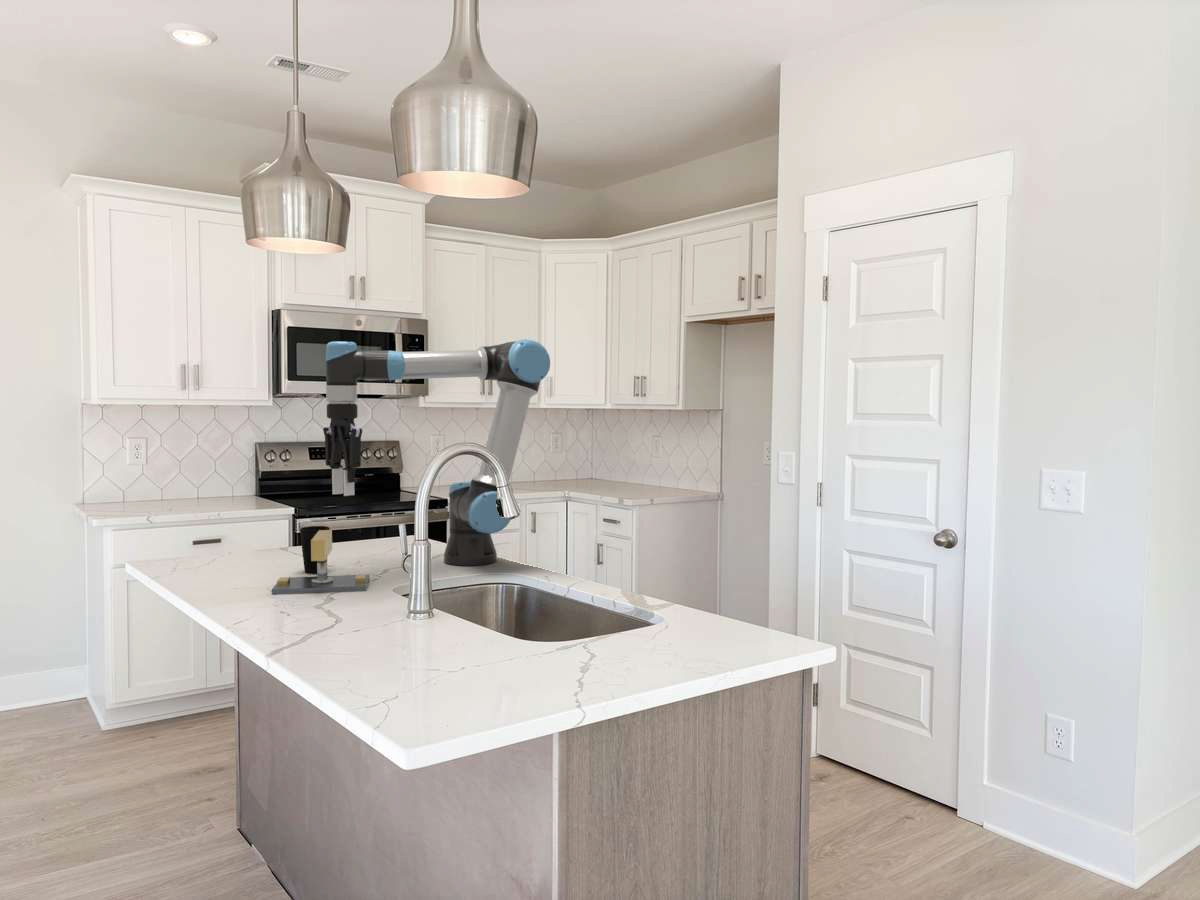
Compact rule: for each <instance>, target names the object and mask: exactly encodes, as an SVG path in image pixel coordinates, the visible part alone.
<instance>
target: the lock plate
mask: <svg viewBox="0 0 1200 900" xmlns="http://www.w3.org/2000/svg"><path fill="white" fill-rule="evenodd" d="M370 578H371V575H370V574H343V575H328V561H327V562H318V563H317V574H316V575H315V576H292V577H291V576H287V577H286V576H285V577H283V576H282V577H279V578H278V580H277V581H276V584H274V586H273V587H272V589H271V595H291V594H293V595H294V594H316V593H317V594H318V593H340V592H341V593H344V592H346V593H348V592H366V591H367V589H368V587H369V582H370Z"/></svg>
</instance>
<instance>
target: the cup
mask: <svg viewBox="0 0 1200 900" xmlns="http://www.w3.org/2000/svg"><path fill="white" fill-rule="evenodd" d="M319 530H331V527H330V526H326V525H325V526H324V525H314V526H313V525H312V526H310V525H309V526H303V527H300V528H299V532H300V533H299V534H300V543H301V551H302V559H303V568H304V574H307V575H317V563H318V562H317V561H311V540H312V539H313V537H314V536H315V535H316V534H317V532H318V531H319ZM326 562H327V563H328V560H327V561H326Z"/></svg>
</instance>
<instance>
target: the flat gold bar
mask: <svg viewBox="0 0 1200 900" xmlns="http://www.w3.org/2000/svg"><path fill="white" fill-rule="evenodd" d="M332 550H333V530H332V529H330V530H319V531H318V532H317V534H316V535H315V536H314V537H313V539H312V540H311V561H317V562H326V561H327V562H328V557H329V555H330V554H331V551H332Z"/></svg>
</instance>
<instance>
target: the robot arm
mask: <svg viewBox="0 0 1200 900" xmlns="http://www.w3.org/2000/svg"><path fill="white" fill-rule="evenodd" d="M324 361H325V375H326V376H325V380H326V381H325V382H326V384H325V385H326V387H325V389H326V390H325V392H326V393H325V394H326V395H325V399H326V402H328V403H327V404H326V417H327V419H330V423H329V426H327V427H323V428H322V431H323V435H324V449H325V451H324V452H325V456H324V457H325V465H326V466H328V467H330V470H331V482H332V483H331V484H332V486H331V487H332V488H331V489H332V493H331V494H332V495H342V494H343V497H349V496H355V492H356V491H355V481H356V469H358V468H361V466H362V465H361V464H362V461H361V459H362V457H361V455H362V448H361V447H362V442H361V441H362V434H363V429H362V428H357V427H356V424H355V419H357V418H358V411H359V410H358V405H357V403H355V402H357V401H358V389H357V388H358V387H357V386H358V380H364V381H367V382H373V381H396V380H397V381H399V380H414V379H415V380H417V379H420V380H421V379H447V378H449V379H450V378H451V379H452V378H478V379H480V381H496V384H497V387H498V388H499V394H498V398H497V402H496V406H495V410H494V414H493V418H492V421H491V425H490V428H489V429H490V430H489V434H488V436H487V441H486V445H485V448H487V449H488V450H490V451H491V452H493V453H494V454H495V455H496V456H497V457H498V458H499V460H500V462H501V463H502V465H503V467H504V469H505V471H506V474H507V476H508V480H509V481H510V479H511V476H512V472H513V468H514V464H515V460H516V456H517V453H518V448H519V444H520V440H521V435H522V432H523V429H524V425H525V420H526V418H527V414H528V413H527V412H528V409H529V405H530V401H531V399H532V397H534V396H535V395H537V394H538V391H539V389H540V385H541V381H542V380H543V379H545V378H546V377H547V375H548V374H549V371H550V367H551V358H550V355H549V353H548V351H547V349H546V348H545V347H544V346H543V344H541V343H540V342H538V341H536V340H533V339H532V340H531V339H527V338H526V339H523V338H522V339H520V340H519V339H518V340H516V341H509V342H505V343H500V344H495V345H488V346H479V347H478V348H477V349H475V350H473V349H472V350H471V349H469V350H436V351H435V350H433V351H432V350H430V351H426V350H424V351H422V350H421V351H397V350H396V351H395V350H392V349H391V350H389V349H388V350H363V349H358V345H357V343H356V342H354V341H338V340H337V341H330V342H328V343H327V344H326V347H325V360H324ZM342 459H344V465H342ZM479 468H480V469H479V472H478V474H477V475H476V476H473V477H472V478H471V481H463V482H454V483H452V484H451V485H450V486H449V493H448V497H449V538H448V541H447V543H446V546H445V550H444V553H443V562H444V563H445V564H447V565H452V566H461V567H462V566H468V567H469V566H482V565H483V566H484V565H489V564H493V563H496V562H497V560H498V559H497V558H498V557H497V556H498V555H497V550H496V547H495V545H494V541H493V538H492V535H491V534H496V533H498V532H501V531H502V530H504V529H505V528H506V527H507V526H508V524H510V522H511V520H512V518H511V519H503V518H501V517H500V516H499V514H498V511H497V507H496V500H497V488H496V482H495V478H494V476H493V474H492V472H491V470H490V468H489V466H488V465H487V464H486V463H485V462H484V461H481V465H480V467H479ZM510 486H511V490H512V492H513V491H514V488H513V486H512V485H511V483H510Z"/></svg>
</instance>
